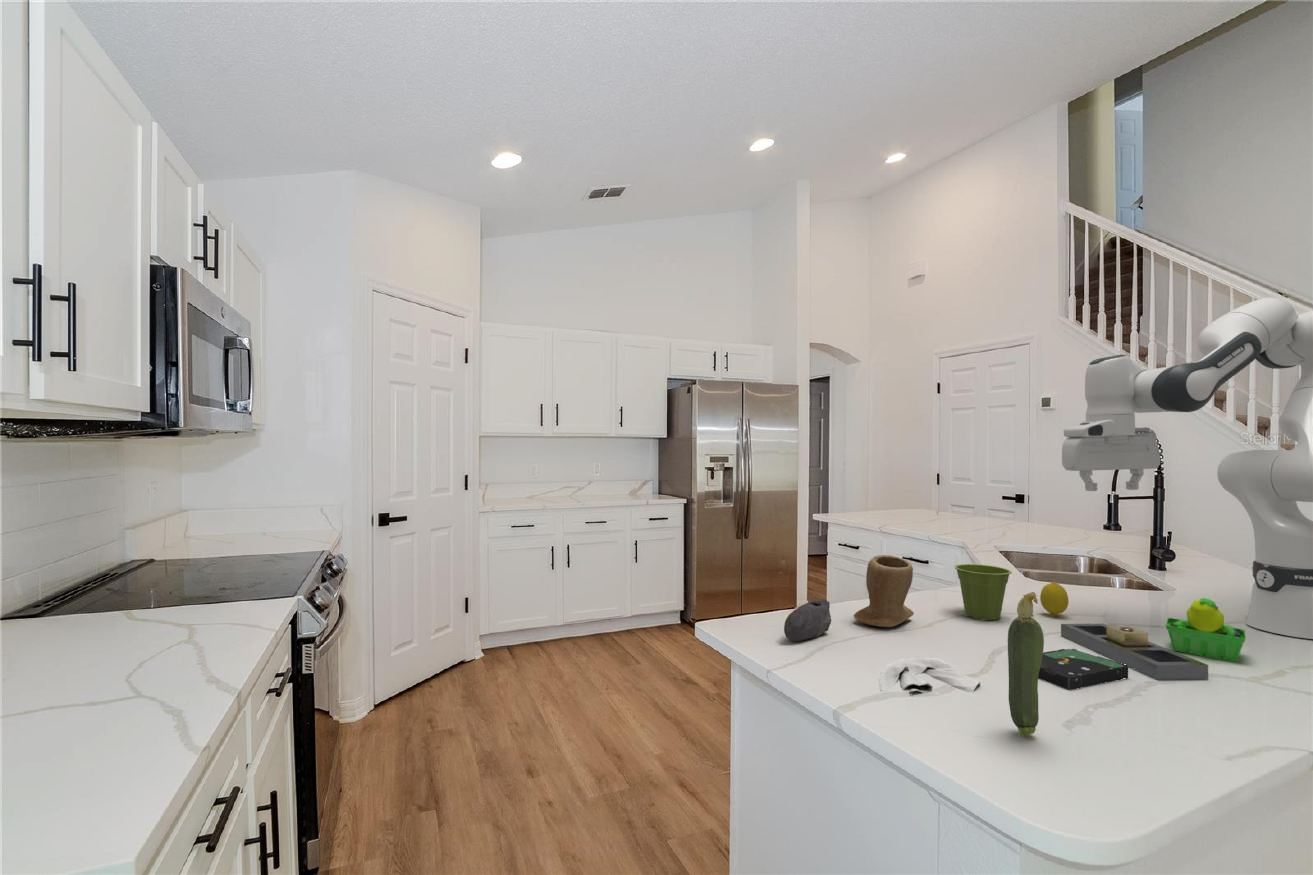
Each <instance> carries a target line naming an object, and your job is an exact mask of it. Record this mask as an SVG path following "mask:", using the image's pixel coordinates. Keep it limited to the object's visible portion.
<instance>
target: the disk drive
mask: <svg viewBox="0 0 1313 875" xmlns="http://www.w3.org/2000/svg"><path fill="white" fill-rule="evenodd" d="M1123 678H1128V679H1129V667H1128V666H1127V665H1124V664H1121V663H1119V662H1117V661H1115V660H1113V659H1109V658H1105V657H1102V656H1099V655H1097V656H1096V655H1093V654H1090V653H1087V652H1083V651H1079V650H1077V648H1066V649H1065V648H1061V649H1057V650H1051V651H1043V656H1042V663H1041V667H1040V670H1039V675H1038V680H1039V679H1040V680H1041V681H1044V682H1047V683H1049V682H1050V684H1052V685H1055V686H1058V687H1061V688H1063V689H1065V690H1067V691H1072V690H1078V689H1077V688H1079V689H1082V688H1081V687H1083V688H1087V687H1091V686H1097V684H1098V685H1101V684H1100V683H1103V684H1106V683H1105V682H1107V683H1111V682H1112V681H1113V682H1117V681H1116V680H1119V681H1122V680H1121V679H1123ZM1123 680H1124V679H1123Z"/></svg>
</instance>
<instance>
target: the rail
mask: <svg viewBox="0 0 1313 875" xmlns="http://www.w3.org/2000/svg"><path fill="white" fill-rule="evenodd" d="M1106 626H1109V625H1108V624H1105V623H1060V636H1061V637H1062V638H1065V639H1067V640H1070V641H1071V642H1073V641H1074V642H1073V643H1076V644H1078V645H1080V646H1083V647H1084V646H1085V647H1084V648H1087V649H1089V650H1092V651H1093V650H1094V651H1093V652H1096V653H1098V654H1099V655H1102V656H1104V657H1106V658H1107V659H1109V660H1113V659H1114V660H1113V661H1115V660H1116V661H1115V662H1117V661H1118V663H1119V662H1120V663H1122V664H1126V665H1127V666H1130V667H1131V668H1130V667H1129V668H1130V669H1132V668H1135V669H1136V670H1138V671H1137V672H1139V671H1140V672H1139V673H1141V674H1143V673H1144V675H1145V674H1146V675H1145V676H1147V675H1148V676H1147V677H1149V676H1150V678H1151V679H1154V678H1155V679H1154V680H1156V679H1157V681H1171V680H1172V681H1173V680H1174V681H1177V680H1178V681H1181V680H1186V681H1187V680H1189V681H1190V680H1191V681H1192V680H1193V681H1194V680H1199V681H1200V680H1209V664H1207V663H1204V662H1202V661H1199V660H1197V659H1194V658H1192V657H1189V656H1188V655H1187V656H1186V655H1184V654H1182V653H1180V652H1177V651H1174V650H1173V649H1169V648H1166V647H1163V646H1161V645H1158V644H1157V643H1153V642H1151V641H1149V640H1148V647H1142V648H1124V647H1121V646H1119V645H1117V644H1114V643H1112V642H1110V641H1107V632H1106ZM1136 670H1135V671H1136Z"/></svg>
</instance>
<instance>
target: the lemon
mask: <svg viewBox="0 0 1313 875" xmlns="http://www.w3.org/2000/svg"><path fill="white" fill-rule="evenodd" d="M1039 598H1040V605H1041V607H1042V608H1043V609H1044V610H1045V611H1046V612H1048V613H1049V614H1051V616H1053V617H1057V616H1058V615H1060V614H1062V613H1064V612H1065V611H1066V610H1067V609H1068V606H1069V595H1068V593H1067V590H1066V589H1065V588H1064V587H1063V586H1062V585H1061V584H1059V583H1057V582H1056V581H1052V582H1051V583H1047V584H1045V585H1044V586H1043V587H1042V589H1041V592H1040V596H1039Z"/></svg>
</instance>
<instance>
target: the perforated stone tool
mask: <svg viewBox="0 0 1313 875" xmlns="http://www.w3.org/2000/svg"><path fill="white" fill-rule="evenodd" d="M830 606H831V604H830V601H828V600H826V599H824V598H822V599H821V598H819V599H817V600H811V601H809V602H806V603H804V604H802V605H800V606H798V607H797V608H795V609H794V610H792V611H791V612H790V613H789V614H788V616H787V617H786V619H785V621H784V626H783V632H784V635H785V638H786V639H787V640H788V641H790V642H802V641H805V640H810V639H813V638H817V637H819V636H820V635H823V634H824V633H826V632H828V631H829V628H830V626H831V624H832V618H831V617H832V616H831V613H830V612H831V611H830Z"/></svg>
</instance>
